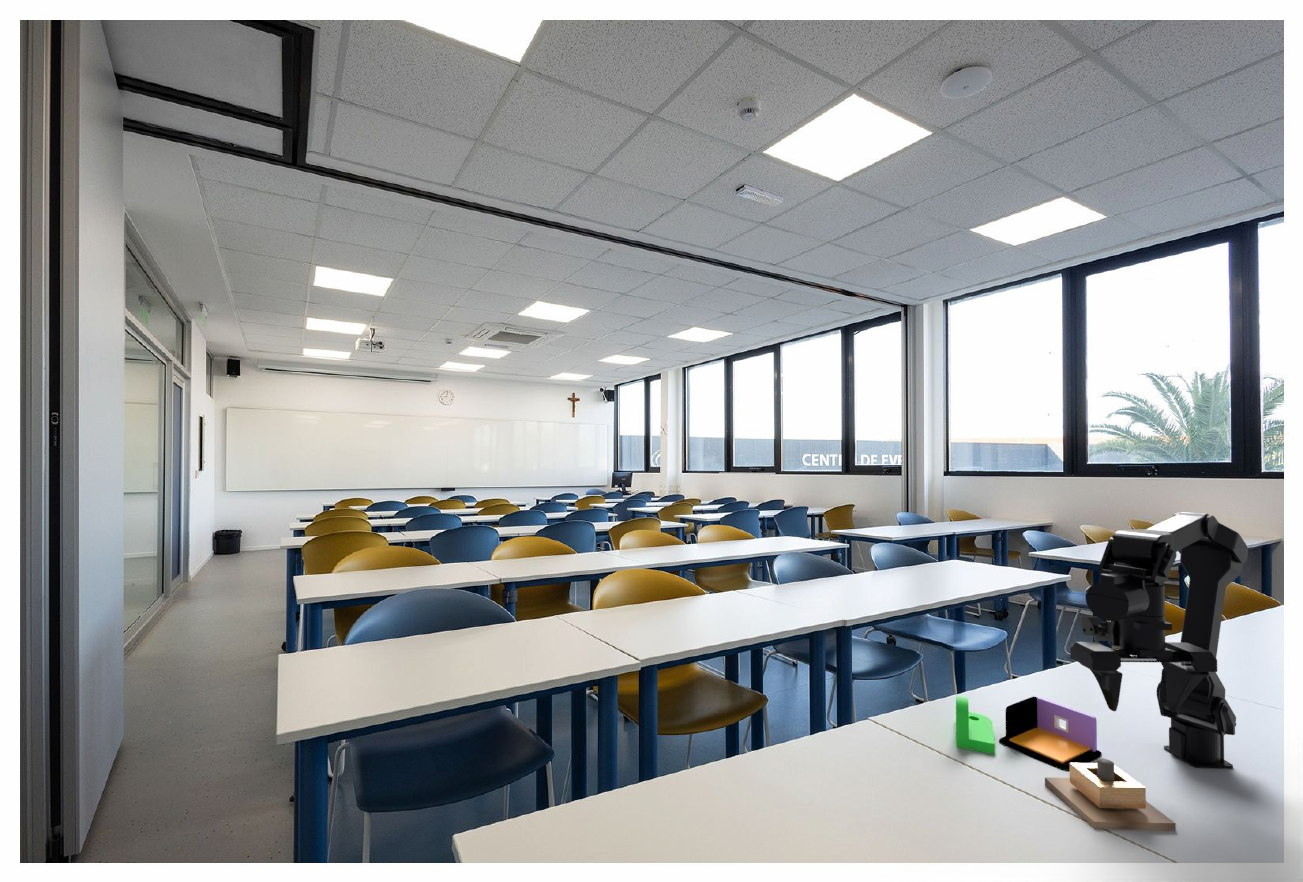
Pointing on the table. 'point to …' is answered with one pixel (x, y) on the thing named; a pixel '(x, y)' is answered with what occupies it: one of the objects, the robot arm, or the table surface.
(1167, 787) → the table surface
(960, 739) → the mechanical part
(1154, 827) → the post stand
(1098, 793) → the wooden collar
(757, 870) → the table surface
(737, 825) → the table surface
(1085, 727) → the toy room diorama
